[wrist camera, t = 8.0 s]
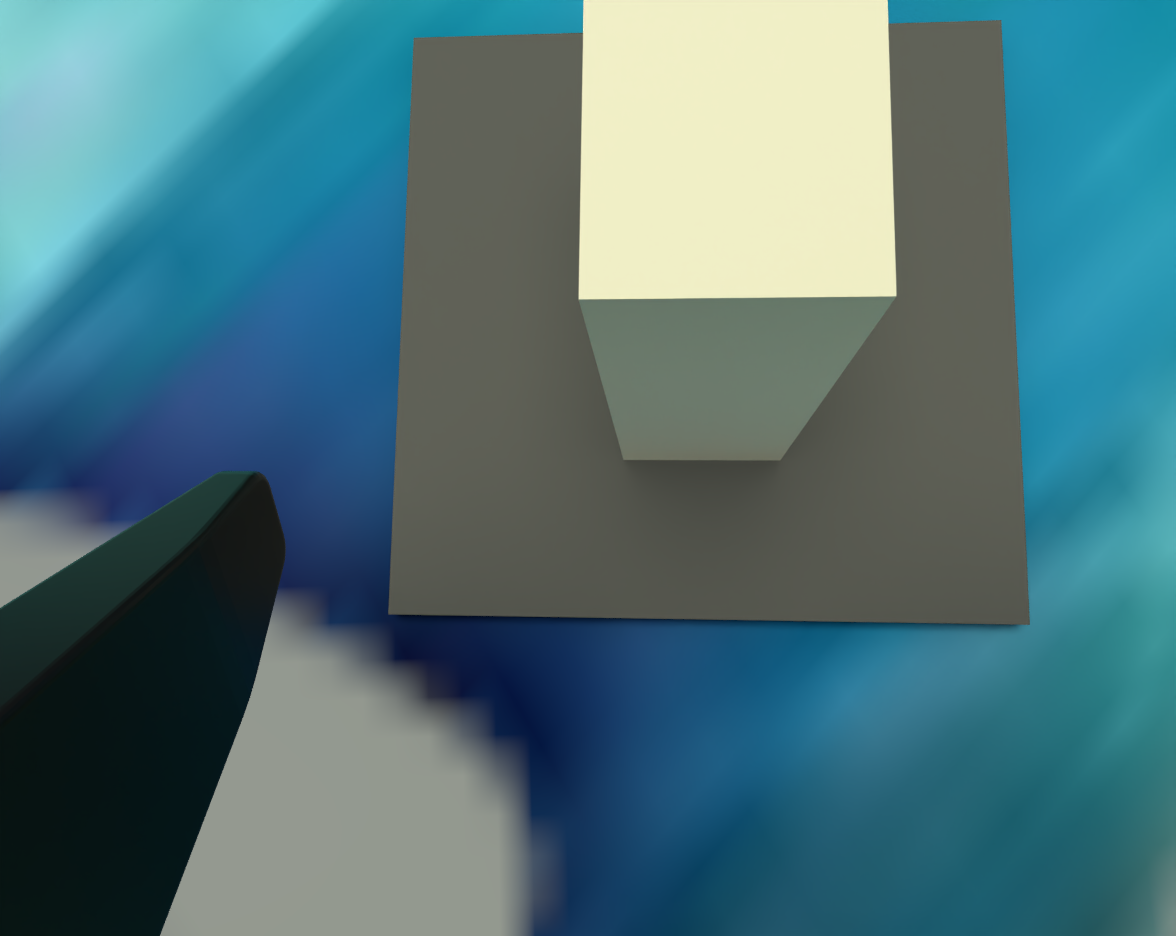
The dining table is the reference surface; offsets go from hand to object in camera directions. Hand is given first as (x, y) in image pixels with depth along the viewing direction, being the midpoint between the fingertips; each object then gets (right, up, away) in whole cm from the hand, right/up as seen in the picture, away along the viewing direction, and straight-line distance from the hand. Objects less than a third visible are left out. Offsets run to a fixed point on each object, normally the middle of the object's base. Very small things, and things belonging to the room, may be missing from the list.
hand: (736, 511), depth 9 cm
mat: (+1, +3, +11) cm, 12 cm away
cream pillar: (+1, +4, +10) cm, 11 cm away
